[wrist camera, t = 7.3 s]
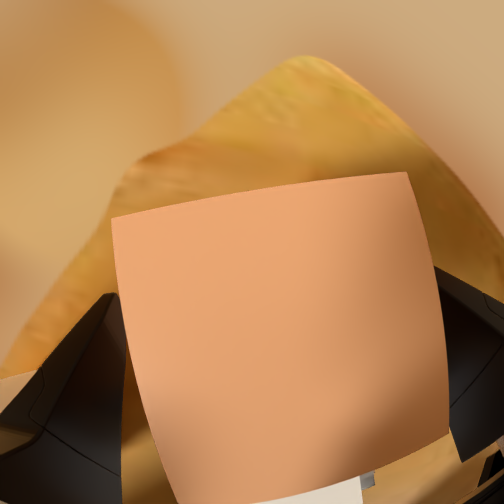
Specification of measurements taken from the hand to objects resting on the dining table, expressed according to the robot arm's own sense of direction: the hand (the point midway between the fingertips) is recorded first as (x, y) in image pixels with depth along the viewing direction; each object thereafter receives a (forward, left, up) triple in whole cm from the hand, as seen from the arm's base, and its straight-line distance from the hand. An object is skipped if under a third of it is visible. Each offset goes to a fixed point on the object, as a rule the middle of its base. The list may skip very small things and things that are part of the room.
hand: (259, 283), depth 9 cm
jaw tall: (-1, 0, -8) cm, 8 cm away
